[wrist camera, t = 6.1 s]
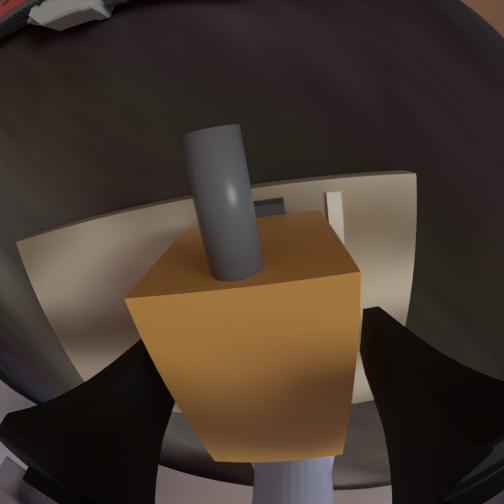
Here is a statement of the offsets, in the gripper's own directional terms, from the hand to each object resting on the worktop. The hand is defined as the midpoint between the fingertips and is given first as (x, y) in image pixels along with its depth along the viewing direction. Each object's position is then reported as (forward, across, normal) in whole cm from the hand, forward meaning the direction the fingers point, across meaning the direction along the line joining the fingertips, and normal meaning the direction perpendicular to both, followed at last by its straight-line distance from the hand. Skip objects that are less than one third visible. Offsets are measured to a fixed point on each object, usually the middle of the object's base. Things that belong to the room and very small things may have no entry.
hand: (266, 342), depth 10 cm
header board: (+4, +4, +2) cm, 6 cm away
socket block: (+2, 0, -2) cm, 2 cm away
